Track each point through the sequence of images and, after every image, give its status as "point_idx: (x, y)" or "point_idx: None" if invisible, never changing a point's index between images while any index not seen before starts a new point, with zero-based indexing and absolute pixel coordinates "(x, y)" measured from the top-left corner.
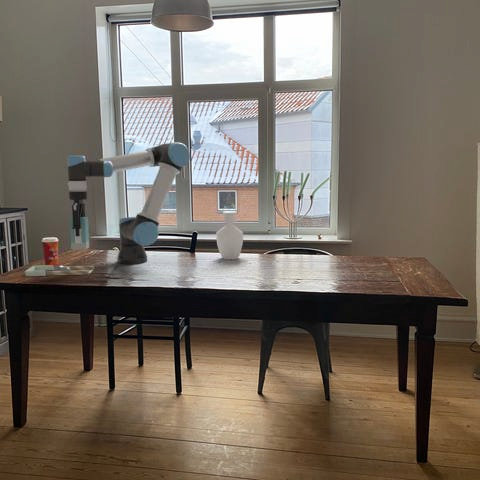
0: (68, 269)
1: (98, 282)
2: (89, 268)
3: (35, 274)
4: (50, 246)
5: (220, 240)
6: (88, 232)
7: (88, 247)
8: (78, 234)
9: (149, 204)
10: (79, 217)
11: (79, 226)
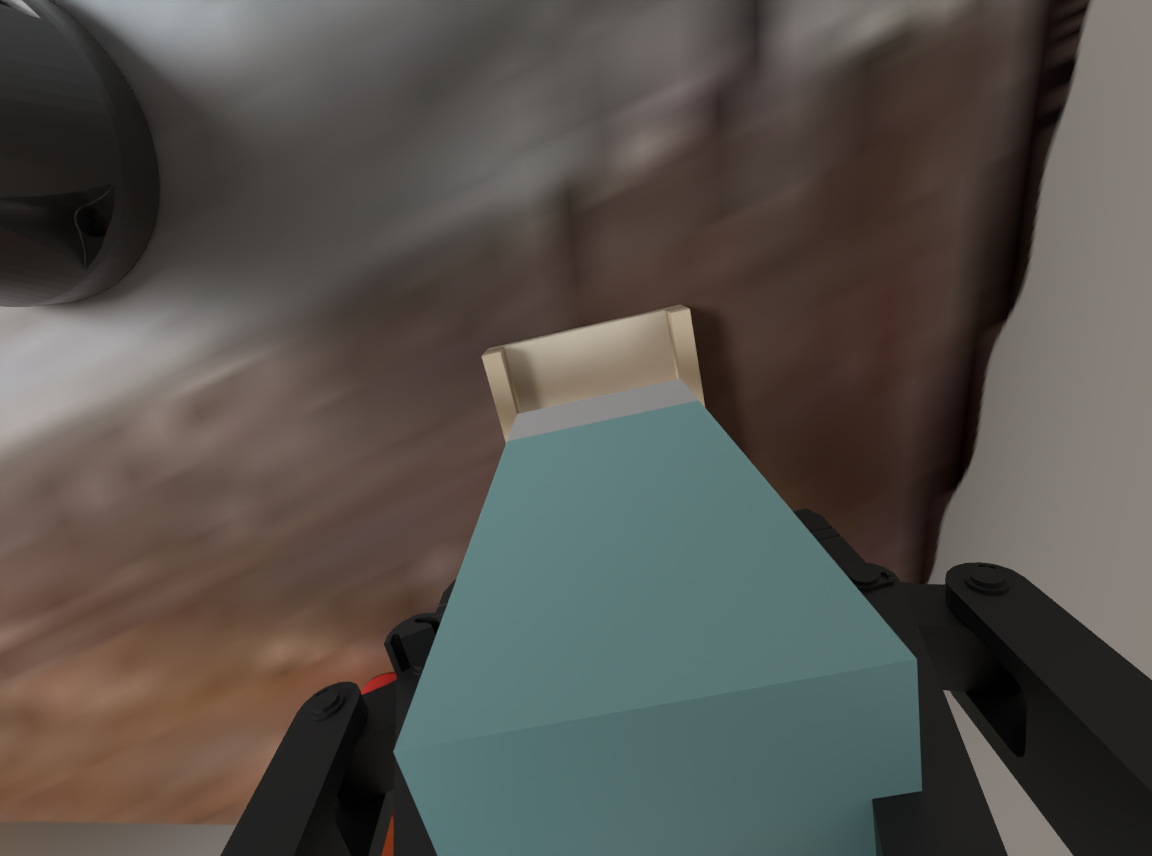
0: None
1: (904, 114)
2: (510, 380)
3: None
4: (391, 837)
5: None
6: (502, 492)
7: (564, 404)
8: (828, 527)
9: None
10: (995, 828)
11: (904, 596)
